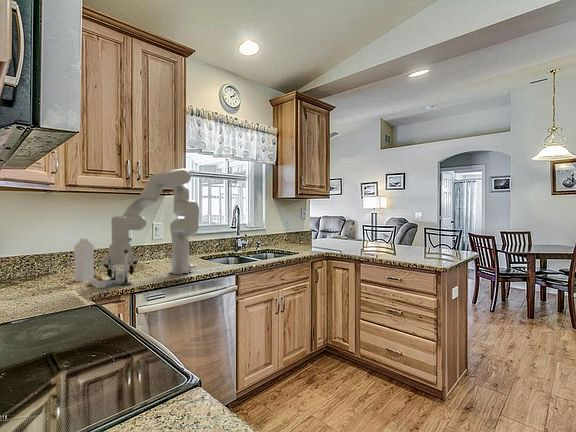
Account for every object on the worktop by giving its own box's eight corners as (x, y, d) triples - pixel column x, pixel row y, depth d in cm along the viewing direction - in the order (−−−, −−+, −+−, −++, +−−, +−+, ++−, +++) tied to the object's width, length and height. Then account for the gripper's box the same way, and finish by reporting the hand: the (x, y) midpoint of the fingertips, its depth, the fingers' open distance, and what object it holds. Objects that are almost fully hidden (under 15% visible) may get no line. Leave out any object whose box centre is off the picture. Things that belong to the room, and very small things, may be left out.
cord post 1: (118, 278, 170) (117, 245, 170) (120, 279, 168) (120, 246, 167) (109, 279, 168) (109, 246, 167) (111, 280, 165) (111, 246, 164)
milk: (85, 280, 169) (85, 238, 169) (94, 281, 167) (94, 238, 166) (74, 283, 163) (74, 239, 163) (82, 284, 161) (82, 239, 161)
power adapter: (116, 280, 165) (116, 268, 165) (126, 279, 167) (126, 268, 167) (114, 284, 155) (114, 272, 155) (125, 284, 157) (125, 271, 157)
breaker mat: (120, 279, 171) (120, 270, 171) (134, 286, 156) (134, 276, 156) (87, 284, 161) (87, 274, 161) (99, 292, 146) (99, 281, 145)
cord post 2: (129, 283, 158) (129, 248, 158) (132, 285, 155) (131, 249, 155) (120, 284, 155) (120, 249, 155) (123, 286, 152) (122, 250, 152)
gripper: (135, 239, 170) (136, 272, 170) (98, 241, 158) (99, 277, 158) (141, 240, 164) (141, 274, 165) (103, 243, 152) (103, 279, 153)
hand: (120, 275), depth 162 cm, fingers open, 9 cm apart
